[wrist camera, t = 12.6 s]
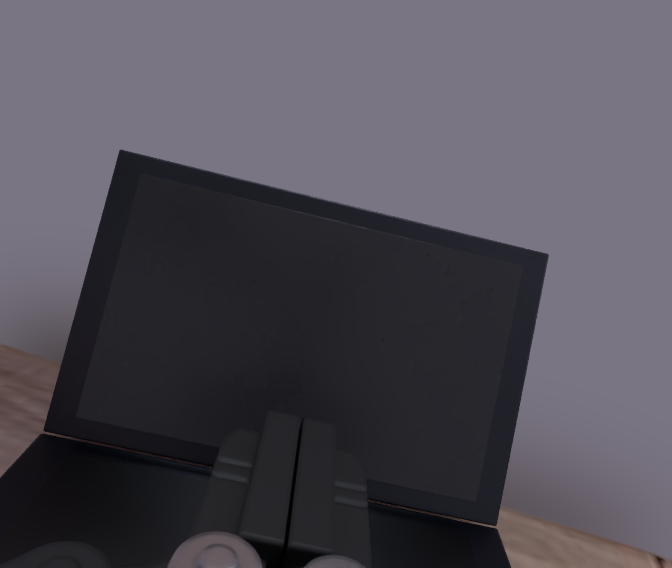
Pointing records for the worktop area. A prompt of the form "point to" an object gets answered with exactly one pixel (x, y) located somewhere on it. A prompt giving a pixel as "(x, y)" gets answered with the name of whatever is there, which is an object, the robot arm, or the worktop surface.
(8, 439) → the worktop surface
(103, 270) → the laptop screen
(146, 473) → the laptop
